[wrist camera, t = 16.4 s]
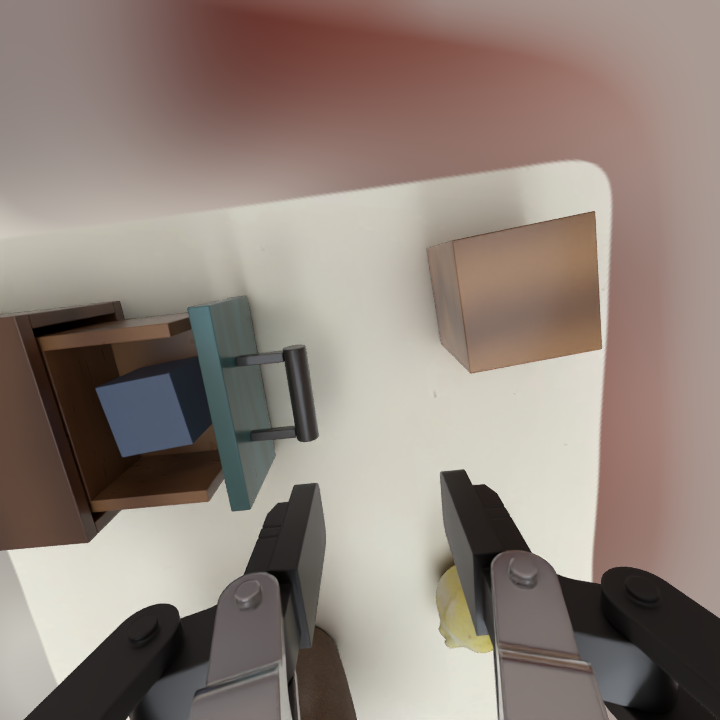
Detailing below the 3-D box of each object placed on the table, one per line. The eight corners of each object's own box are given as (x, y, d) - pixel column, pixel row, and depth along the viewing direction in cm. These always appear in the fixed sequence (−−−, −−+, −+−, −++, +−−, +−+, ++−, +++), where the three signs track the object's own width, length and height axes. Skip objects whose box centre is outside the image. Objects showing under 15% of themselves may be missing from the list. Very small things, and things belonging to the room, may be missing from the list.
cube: (426, 248, 27) (452, 240, 19) (526, 227, 26) (595, 210, 18) (441, 344, 28) (470, 373, 20) (535, 326, 28) (602, 349, 20)
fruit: (541, 545, 32) (479, 640, 33) (477, 505, 33) (419, 597, 34) (563, 582, 27) (488, 696, 27) (486, 532, 28) (416, 642, 28)
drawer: (308, 288, 26) (289, 296, 20) (330, 450, 29) (321, 503, 23) (102, 311, 27) (17, 326, 20) (144, 468, 30) (82, 525, 23)
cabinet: (119, 301, 28) (14, 315, 19) (163, 468, 31) (88, 543, 23) (-33, 318, 28) (-200, 340, 20) (26, 481, 31) (-97, 559, 23)
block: (139, 367, 27) (94, 388, 22) (201, 355, 27) (168, 373, 22) (160, 427, 28) (121, 457, 23) (220, 415, 28) (192, 444, 23)
